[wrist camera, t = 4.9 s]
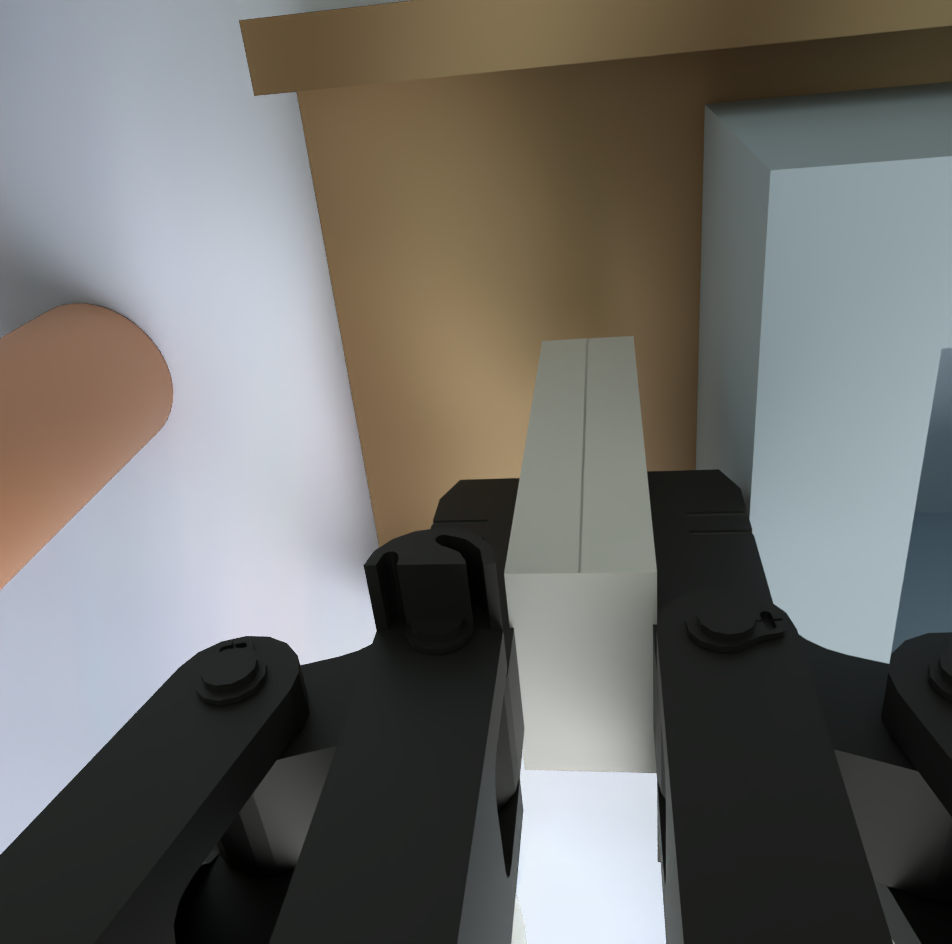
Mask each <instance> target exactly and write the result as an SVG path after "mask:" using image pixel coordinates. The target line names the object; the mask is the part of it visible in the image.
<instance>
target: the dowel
mask: <svg viewBox="0 0 952 944" xmlns="http://www.w3.org/2000/svg"><path fill="white" fill-rule="evenodd" d="M172 403H173V386H172V380H171V376H170V373H169V370H168V367H167V364H166V362H165V360H164V358H163V356H162V355H161V353H160V351H159V350H158V348H157V347H156V345H155V344H154V343H153V342H152V340H151V339H150V338H149V337H148V336H147V335H146V334H145V333H144V332H143V331H142V330H141V329H140V328H139V327H138V326H136V325H135V324H134V323H133V322H131V321H130V320H128V319H127V318H125V317H124V316H122V315H120V314H118V313H116V312H114V311H111V310H109V309H106V308H104V307H100V306H96V305H91V304H84V303H72V304H65V305H61V306H58V307H55V308H53V309H51V310H49V311H47V312H45V313H43V314H41V315H40V316H38V317H36V318H35V319H33V320H31V321H29V322H28V323H26V324H24V325H22V326H21V327H19V328H17V329H16V330H14V331H12V332H10V333H9V334H7V335H5V336H3V337H2V338H0V590H1V589H2V588H3V587H4V586H5V585H6V584H7V583H8V582H9V581H10V580H11V579H12V578H13V577H14V576H15V575H16V574H17V573H18V572H19V571H20V570H21V569H22V568H23V567H24V566H25V565H26V564H27V563H28V562H29V561H30V560H31V559H32V558H33V557H34V556H35V555H36V554H37V553H38V552H39V551H40V550H41V549H42V548H43V547H44V546H45V545H46V544H47V543H48V542H49V541H50V540H51V539H52V538H53V537H54V536H55V535H56V534H57V533H58V532H59V531H60V530H61V529H62V528H63V527H64V526H65V525H66V524H67V523H68V522H69V521H70V520H71V519H72V518H73V517H74V516H75V515H76V514H77V513H78V512H79V511H80V510H81V509H82V508H83V507H84V506H85V505H86V504H87V503H88V502H89V501H90V500H91V499H92V498H93V497H94V496H95V495H96V494H97V493H98V492H99V491H100V490H101V489H102V488H103V487H104V486H105V485H106V484H107V483H108V482H109V481H110V480H111V479H112V478H113V477H114V476H115V475H116V474H117V473H118V472H119V471H120V470H121V469H122V468H123V467H124V466H125V465H126V464H127V463H128V462H129V461H130V460H131V459H132V458H133V457H134V456H135V455H136V454H137V453H138V452H139V451H140V450H141V449H142V448H143V447H144V446H145V445H146V444H147V443H148V442H149V441H150V440H151V439H152V438H153V437H154V436H155V435H156V434H157V433H158V432H159V430H160V429H161V428H162V427H163V426H164V424H165V422H166V421H167V419H168V417H169V414H170V411H171V407H172Z"/></svg>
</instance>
